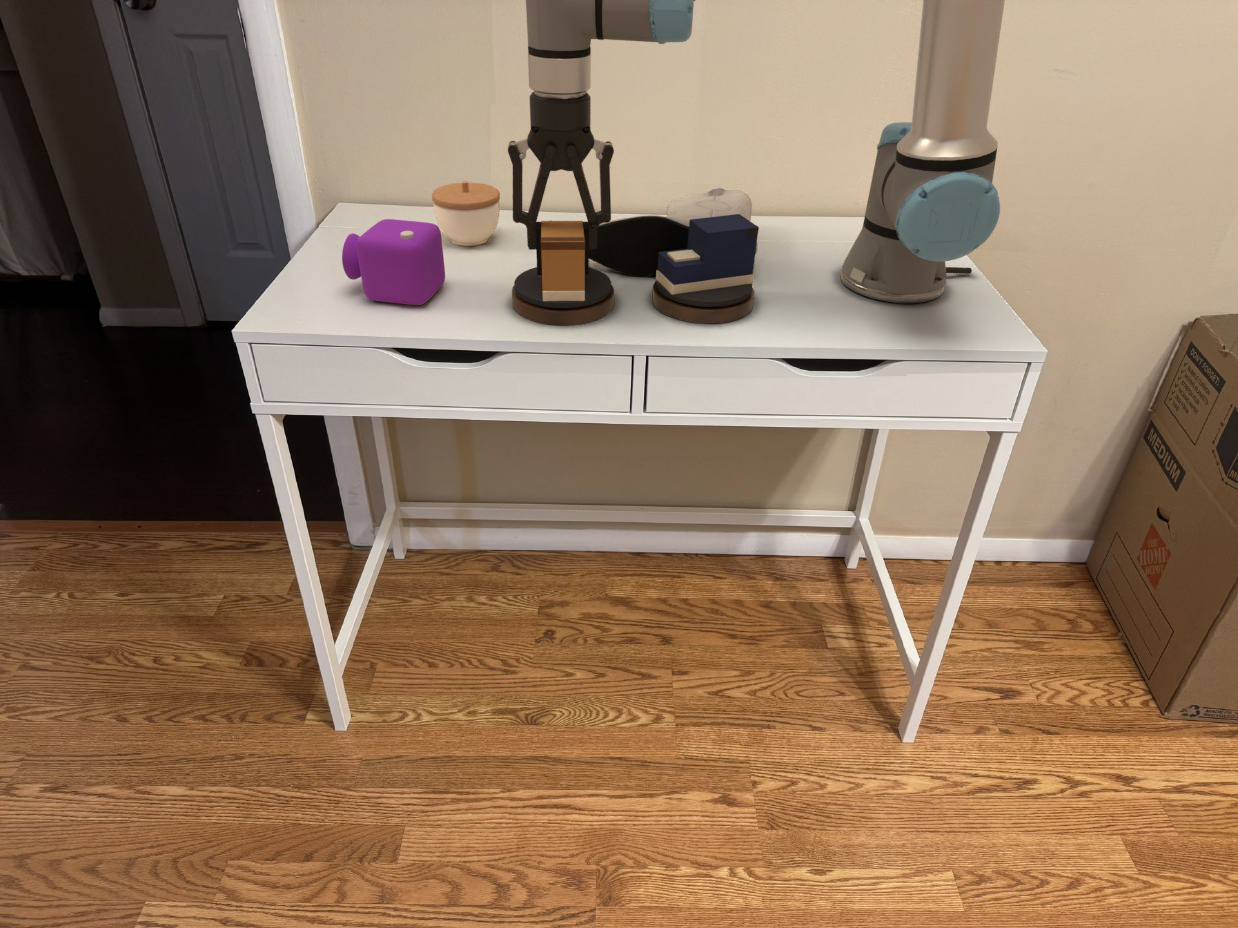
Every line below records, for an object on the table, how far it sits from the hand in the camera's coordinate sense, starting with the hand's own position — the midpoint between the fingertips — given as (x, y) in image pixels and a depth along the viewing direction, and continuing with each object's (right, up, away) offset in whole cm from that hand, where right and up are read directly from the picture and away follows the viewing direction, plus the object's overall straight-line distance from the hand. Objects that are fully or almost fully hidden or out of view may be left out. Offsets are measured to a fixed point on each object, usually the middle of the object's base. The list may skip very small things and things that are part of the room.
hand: (562, 270), depth 116 cm
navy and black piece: (+20, -2, +3) cm, 20 cm away
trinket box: (-17, +10, +22) cm, 30 cm away
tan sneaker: (0, -2, +1) cm, 3 cm away
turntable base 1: (0, -4, +3) cm, 5 cm away
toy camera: (-24, -2, +4) cm, 25 cm away
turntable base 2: (+20, -3, +4) cm, 21 cm away
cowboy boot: (+16, +8, +21) cm, 28 cm away
